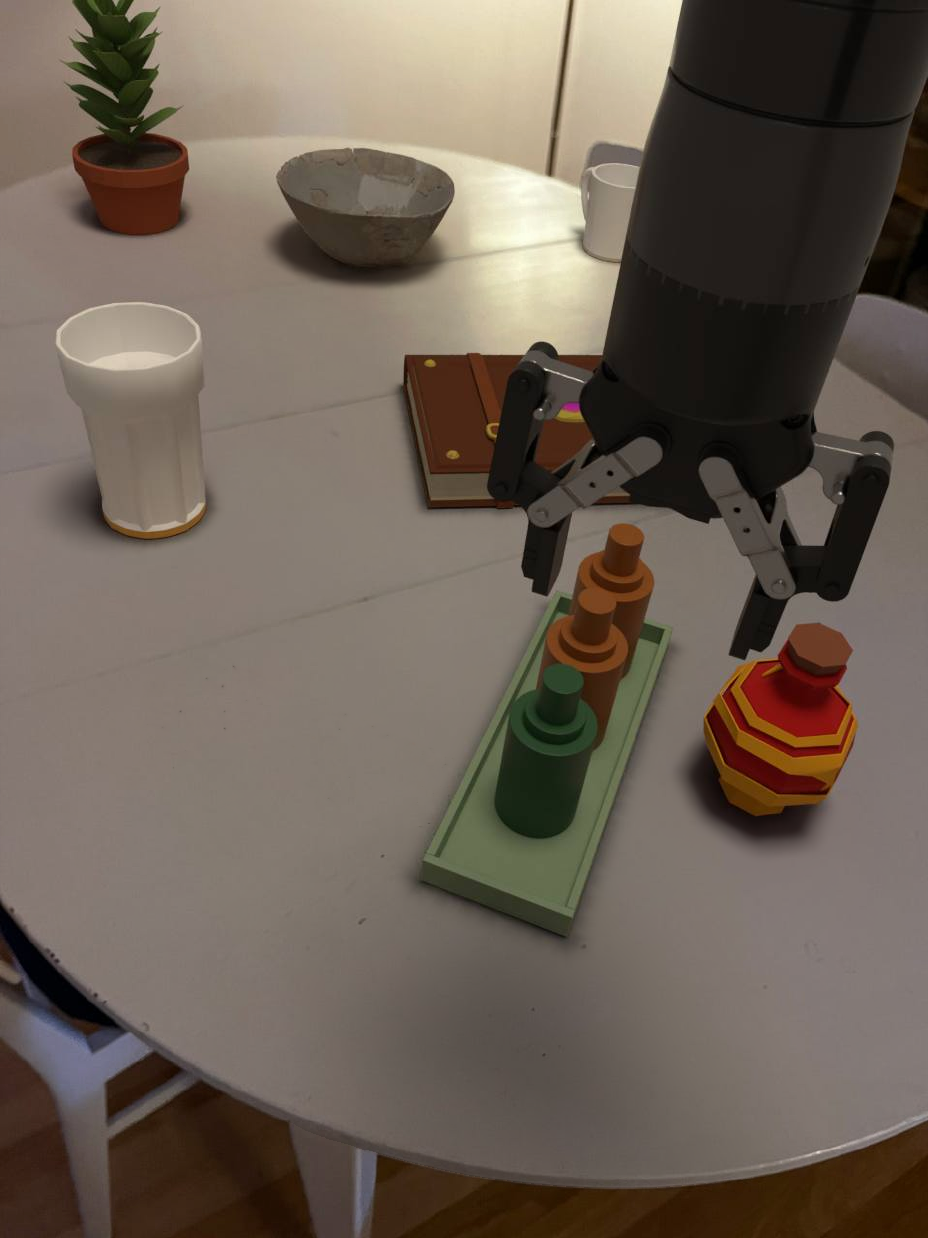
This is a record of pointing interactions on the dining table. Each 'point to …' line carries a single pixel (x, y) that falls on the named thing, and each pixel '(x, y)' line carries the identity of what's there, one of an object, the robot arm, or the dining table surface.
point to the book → (479, 424)
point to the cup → (139, 412)
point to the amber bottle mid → (590, 652)
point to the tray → (539, 867)
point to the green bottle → (546, 755)
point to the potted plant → (125, 125)
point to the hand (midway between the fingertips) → (641, 614)
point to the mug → (607, 208)
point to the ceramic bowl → (366, 203)
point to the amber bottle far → (620, 582)
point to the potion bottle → (784, 724)
